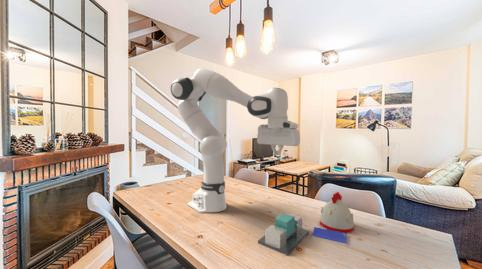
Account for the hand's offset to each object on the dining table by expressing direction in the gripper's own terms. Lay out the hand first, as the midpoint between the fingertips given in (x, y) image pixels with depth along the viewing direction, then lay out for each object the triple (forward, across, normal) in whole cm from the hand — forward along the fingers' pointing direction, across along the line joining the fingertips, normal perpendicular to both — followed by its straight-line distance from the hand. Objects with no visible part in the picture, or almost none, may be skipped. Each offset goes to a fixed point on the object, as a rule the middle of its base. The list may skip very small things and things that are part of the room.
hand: (276, 155), depth 93 cm
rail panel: (+31, +9, -9) cm, 34 cm away
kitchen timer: (+31, +22, +16) cm, 41 cm away
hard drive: (+32, +22, +4) cm, 39 cm away
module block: (+29, +9, -9) cm, 32 cm away
